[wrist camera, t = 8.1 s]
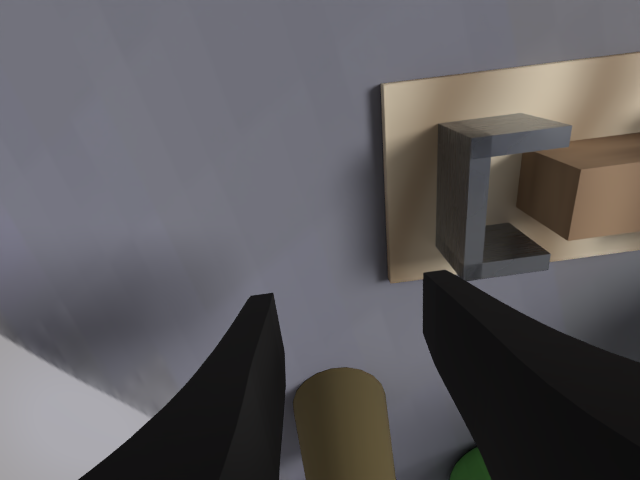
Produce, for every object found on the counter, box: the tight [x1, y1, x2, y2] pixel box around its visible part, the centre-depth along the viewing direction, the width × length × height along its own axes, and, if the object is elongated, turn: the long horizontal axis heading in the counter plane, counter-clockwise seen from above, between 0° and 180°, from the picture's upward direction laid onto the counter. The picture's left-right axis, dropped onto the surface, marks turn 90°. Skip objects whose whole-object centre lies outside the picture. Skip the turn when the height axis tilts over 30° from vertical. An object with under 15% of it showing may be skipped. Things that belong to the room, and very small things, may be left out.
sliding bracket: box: [435, 113, 572, 281], centre depth 17 cm, size 4×6×4 cm, turn 6°
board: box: [381, 52, 640, 283], centre depth 19 cm, size 18×10×1 cm, turn 96°
